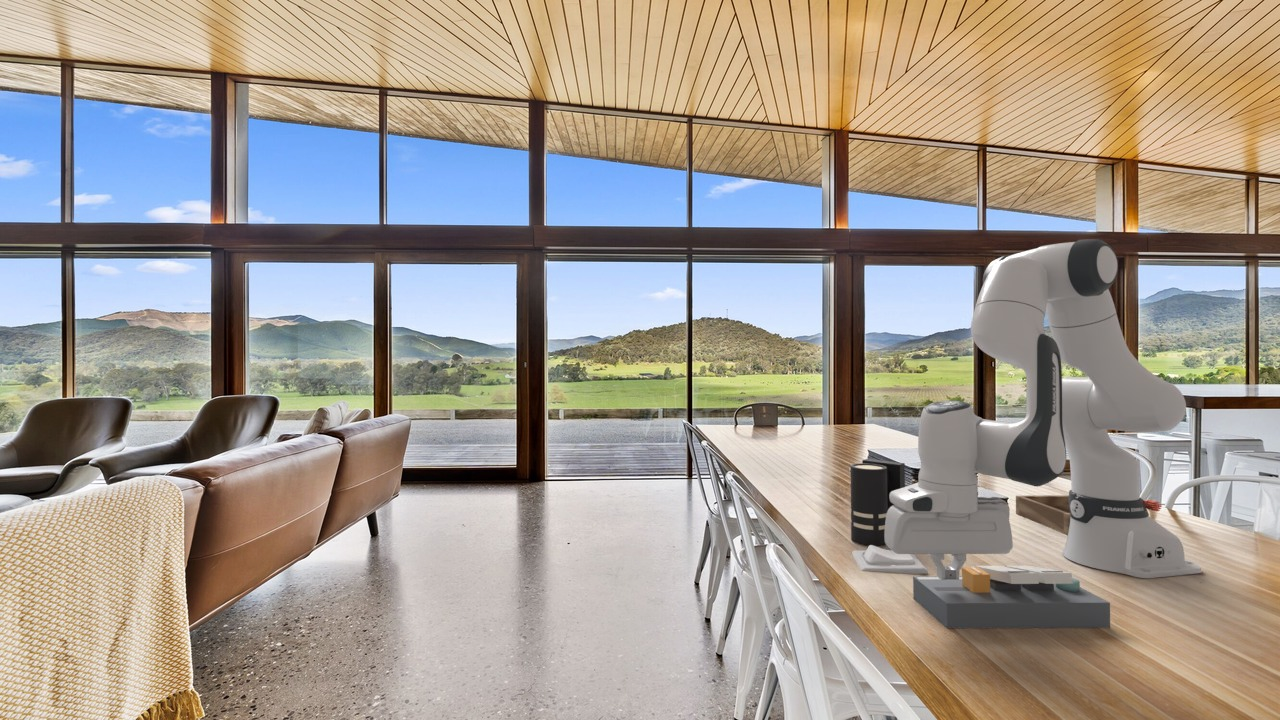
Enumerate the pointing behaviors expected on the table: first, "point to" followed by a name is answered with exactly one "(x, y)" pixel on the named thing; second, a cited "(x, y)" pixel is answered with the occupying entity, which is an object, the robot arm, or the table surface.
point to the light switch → (888, 561)
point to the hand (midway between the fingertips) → (947, 578)
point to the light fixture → (873, 498)
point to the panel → (1009, 605)
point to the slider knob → (976, 580)
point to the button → (1070, 586)
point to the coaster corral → (1046, 510)
